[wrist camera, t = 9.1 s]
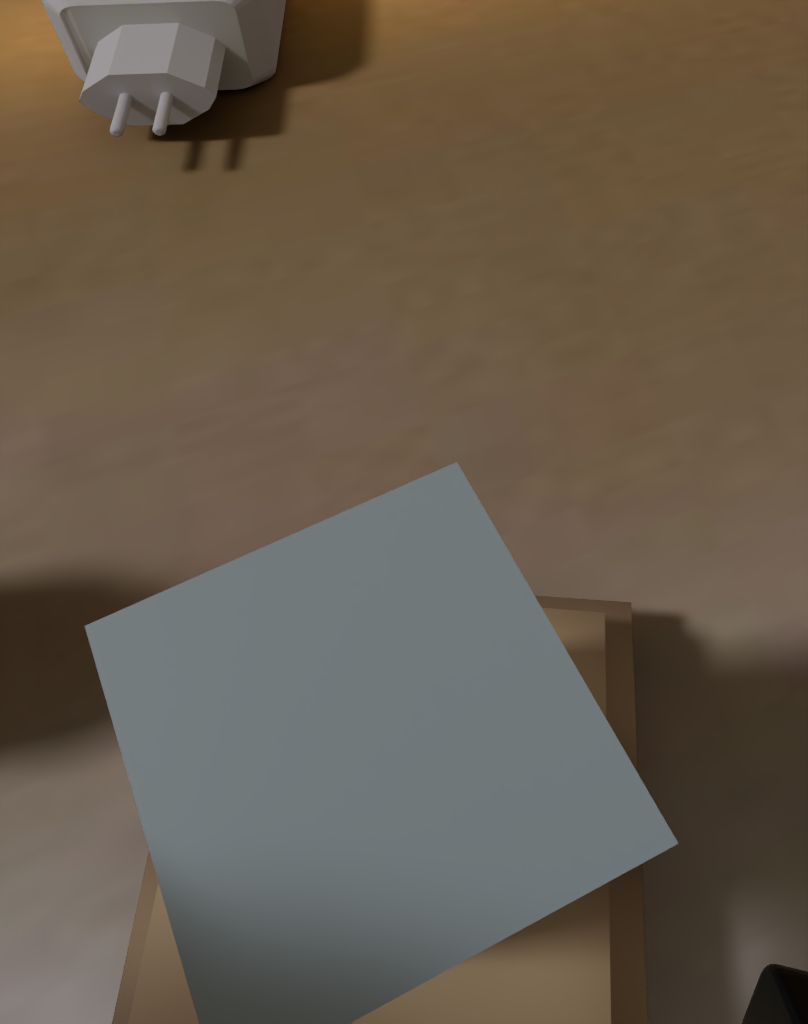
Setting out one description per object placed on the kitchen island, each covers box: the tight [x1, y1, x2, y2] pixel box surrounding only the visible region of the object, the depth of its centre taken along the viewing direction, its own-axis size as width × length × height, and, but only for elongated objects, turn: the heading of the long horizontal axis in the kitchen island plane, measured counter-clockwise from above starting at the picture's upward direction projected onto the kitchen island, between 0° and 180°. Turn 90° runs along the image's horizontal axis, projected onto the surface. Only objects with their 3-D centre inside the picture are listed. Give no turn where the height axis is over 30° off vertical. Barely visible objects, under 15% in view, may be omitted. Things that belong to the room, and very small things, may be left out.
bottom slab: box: [112, 596, 648, 1024], centre depth 20 cm, size 12×12×2 cm
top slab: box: [128, 608, 611, 1024], centre depth 18 cm, size 10×10×2 cm
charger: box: [42, 0, 286, 137], centre depth 33 cm, size 5×9×15 cm
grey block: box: [85, 462, 679, 1024], centre depth 13 cm, size 5×5×10 cm
